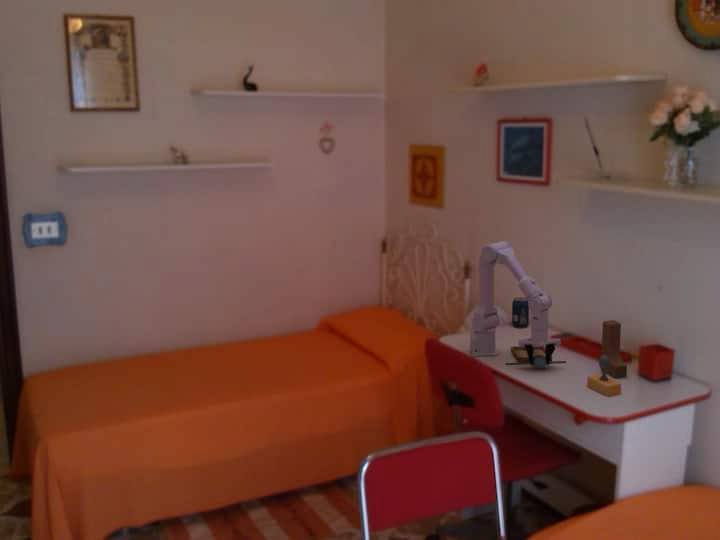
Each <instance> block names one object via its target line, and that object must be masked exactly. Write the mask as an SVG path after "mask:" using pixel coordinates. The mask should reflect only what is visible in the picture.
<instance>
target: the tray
mask: <svg viewBox="0 0 720 540" xmlns="http://www.w3.org/2000/svg"><path fill="white" fill-rule="evenodd" d="M532 347H533V349H534V351H533V357H534V356H536V355H542V356H544V357H546V349H545V345H537V346H532ZM510 352H511V354H512V357H514V359H515V362H516V363H523V362H530V361H529V357H528V354H527V351H526V349H525V347H524V346H522V347H520V346H519V345H518V346H515V345H514V346H510ZM551 361H553V356H551V358H550V361H549V362H551Z"/></svg>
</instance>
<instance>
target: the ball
mask: <svg viewBox="0 0 720 540" xmlns="http://www.w3.org/2000/svg"><path fill="white" fill-rule="evenodd" d="M546 366H547V365H546V358H545V357H544V356H542V355H536V356H534V357H533V367H534V368H536V369H539V370H540V369H541V370H542V369H544V368H545V367H546Z"/></svg>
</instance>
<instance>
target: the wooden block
mask: <svg viewBox="0 0 720 540" xmlns="http://www.w3.org/2000/svg"><path fill="white" fill-rule="evenodd" d="M621 329H622V324H621V322H619V321H617V320H614V319H611V320H604V321H602V331H601V333H602V334H601V335H602V336H601V356H603V355H606V356H608V357H609V359H610V365H609V368H608V370H607V372H606V375H609V376H611V378H614V379H619V378H621V379H622V378H627V375H628V374H627V371H628V366H627V364H626V363H625V362H624V361H623V358H622V357H621V356H622V355H621V334H622V333H621V331H622V330H621Z"/></svg>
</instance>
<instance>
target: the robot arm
mask: <svg viewBox="0 0 720 540" xmlns="http://www.w3.org/2000/svg"><path fill="white" fill-rule="evenodd" d="M480 251H481V252H480V254H481V255H480V257H479V259H478V306H477V308H476V309H475V310H474V312H473V318H472V320H471V326H472V328H473V329H474V330H471V331H470V335H469V336H470V337H469V338H470V340H469V341H470V343H469V344H470V347H469V348H470V349H469V350H470V352H471V354H472V356H473V357H487V356H498V355H499V353H498V351H497V349H496V330H497V327H498V326H499V324H500V321H501V320H500V316H499V313H498V312H499V311H498V308H496V306H494V305H495V304H494V302H495V301H494V299H495V298H494V293H495V292H494V291H495V290H494V288H495V287H494V284H495V281H494V280H495V277H494V274H495V273H494V272H495V271H494V269H495V267H494V266H495V265H497V264H498V265H503V266H506V267H507V269H508V270H509V271H510V273H511V274H512V275H513V276H514V277H515V279H516V280H517V281H518V288H519V289H520V291H521V293H522V295H523V296H525V297H524V298H527V300H528V302H529V303H528V307H529V310H530V311H529V312H530V315H531V329H530V331H531V334H530V336H531V337H530V338H526V339H518V346H520V347H522V346H524V347H525V349H526V351H527V354H528V357H529V361H530V364H529V365H530V366H533V351H534V349H533V347H532V346H543V345H544V347H545V349H546V357H545V358H546V365H545V366H549V365H550V364H549V362H551V361H550V358H551V356H552V355H553V354H554V352H555V350H556V346H561V345H562V344H561V343H562V341H561V339H560V338H556V337H555V338H553V337H549V309H551V308H552V304H553V301H552V298H551V296H550V295H549V294H548V293H545V292H544V291H542V290H541V288H540V287H539V285H538V284H537V283H536V280H535V279H534V278H533V277H531V276H528V275H527V274H526V273H525V271H524V269H523V267H522V266H521V264H520V263H519V261H518V259H517V258H516V256H515V253H514V252H515V251H514V249H513V247H511V244H510V242H508V241H507V240H501V241H498V242H493V243H489V244H486V245H484V246H483V247H481V249H480ZM552 357H553V356H552ZM533 367H534V366H533Z"/></svg>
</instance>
